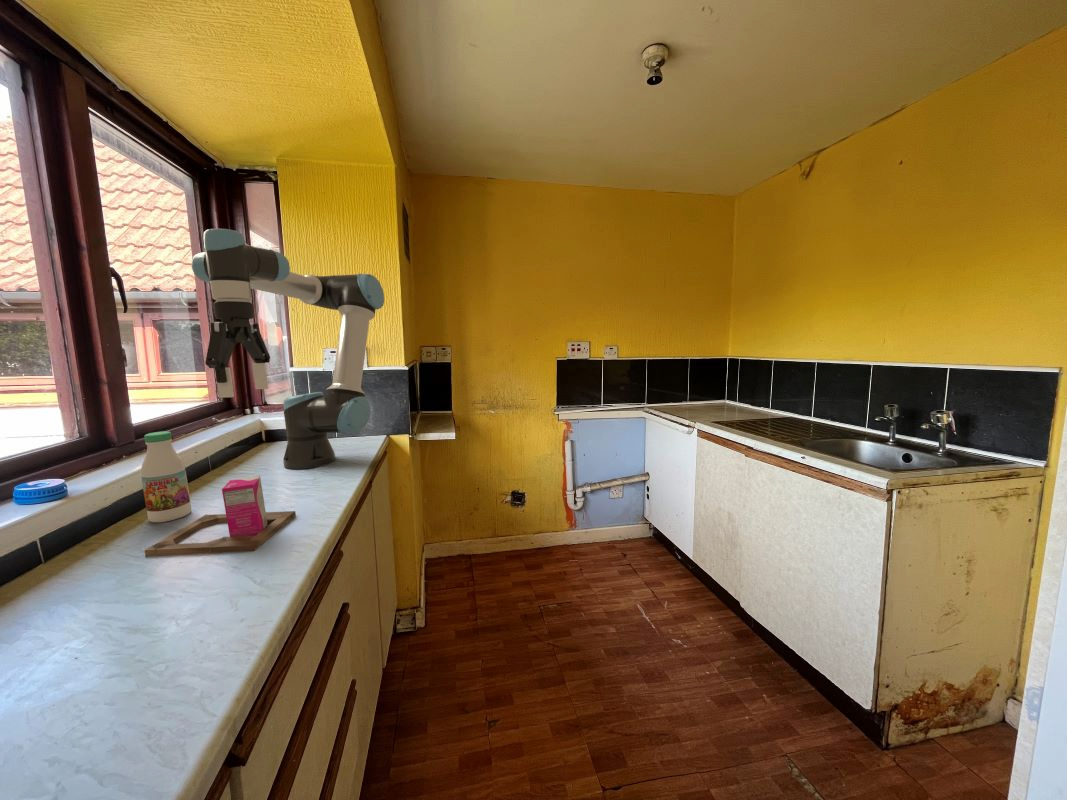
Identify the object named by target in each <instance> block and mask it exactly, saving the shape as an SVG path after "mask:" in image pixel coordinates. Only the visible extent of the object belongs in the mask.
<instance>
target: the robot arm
mask: <svg viewBox="0 0 1067 800" xmlns="http://www.w3.org/2000/svg"><path fill="white" fill-rule="evenodd" d="M203 246H204V247H203V251H204V252H199V253H196V254H195V255H194V256H193V257H192V259H191V270H192V272H193V273H194V275H195V276H196V277H197V279H199V280H200V281H201V282H205V283H209V284H210V291H211V298H212V300H214V302H213V303H212V307H213V313H214V317H215V318H216V319H217V320H220V321H213V322H212V321H211V322H210V337H209V342H208V346H207V352H206V357H205V366H207V367H208V368H209V369H214V373H215V380H216V383H217V391H218V395H219V396H218V398H234V397H235V393H234V386H233V378H232V370H231V367H228V365H229V362H230V360H231V357H232V354H233V351H234V350H235V346H236V345H238V344H242V346H243V347H244V349H245V350H246V352H247V353H248V355H249V357H251V359H252V361H253V362H254V363H253V362H252V363H251V366H252V371H253V372H252V373H253V379H254V380H253V381H254V387H255V390H268V389H269V383H268V376H267V375H268V374H267V368H266V364H267V363H270V361H271V355H270V353H269V351H268V348H267V346H266V344H265V341H264V339H263V335H262V333H261V331H260V327H259V326H260V325H259V323H257V322H252V323H251V322H250V320H251V319H254V318H255V310H254V304H253V303H252V302H250V301H252V300H253V295H252V290H257V291H260V292H261V291H262V292H265V293H270V294H275V295H279V296H284V297H287V298H288V297H289V298H294V299H298V300H300V302H302V303H304V304H306V305H311V306H315V307H319V308H323V309H328V310H334V311H338V312H339V314H340V316H341V318H340V319H341V320H340V327H339V334H338V340H337V341H338V343H337V349H336V356H335V363H334V367H333V368H334V369H333V378H332V383H331V385H330V386H328V387H327V388H325V393H323V392H322V391H315V392H309V393H304V394H297V395H293V396H292V395H291V396H287V397H286V398H285V399H284V400H283V410H282V411H283V417H284V424H285V430H286V431H285V433H286V440H287V443H286V444H287V445H286V447H285V452H284V456H283V461H282V462H283V467H284V468H285V469H290V470H304V469H311V468H317V467H322V466H326V465H329V464H331V463H333V462H335V461H336V454H335V451H334V449H333V446H332V444H331V442H330V441H329V439H328V434H329V433H332V434H333V433H335V434H336V433H337V434H356V433H359V432H361V431H362V430H364V428H365V427H366V426H367V424H368V422H369V421H370V417H371V411H372V409H371V406H370V405H371V404H370V401H369V400H368V399H367V398H366V397H365V395H366V393H365V391H363V389H362V381H363V372H364V367H365V366H364V365H365V359H366V358H365V357H366V350H367V349H366V348H367V342H368V334H369V326H370V321H371V320H373V319H374V318H375V317H376V310H380V309H381V308H383V306H384V303H385V294H384V288H383V287H382V285H381V282H380V280H378V278H377V276H375V275H373V274H370V273H357V274H356V273H355V274H339V275H338V274H337V275H334V274H333V275H325V276H324V275H321V276H319V275H314V274H305V275H303V274H299V273H296V272H292V271H291V266H290V262H289V259H288V258H287V257H286V255H284V253H282V252H278V251H276V250H273V249H267V248H262V247H257V246H254V245H249V244H247V242H246V241H245V236H244V234H243V233H241V232H240V231H237V230H233V229H228V228H209V229H206V230H205V231H204V232H203Z"/></svg>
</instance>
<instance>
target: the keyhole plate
mask: <svg viewBox="0 0 1067 800" xmlns="http://www.w3.org/2000/svg"><path fill="white" fill-rule="evenodd" d="M296 516H297V514H296V510H292V511H289V510H288V511H266V517H267V523H268V526H267V527H266V528H264V529H263V530H262V531H261V532H259V533H258V534H257V535H253V536H231V537H230V536H224V537H219V538H217V539H213V540H210V541H207V542H190V543H187V542H186V543H179V542H181V541H183V540H184V539H186V538H187V537H189V536H191V535H193V534H194V533H196V532H197V531H199V530H200V529H202V528H205V527H208V526H212V525H216V524H218V523H219V524H222V523H225V524H226V523H227V517H226V513H222V514H221V513H219V514H218V513H216V514H215V513H214V514H205V515H202V516H200V517H199V518H197V519H196V520H194V521H192V522H191V523H189V524H187V525H185V526H184V527H182V528H180V529H179V530H176V531H175V532H173V533H172V534H170V535H168V536H166V537H164V538H163V539H161V540H160V541H158V542H156V543H154V544H152V545H151V546H149V547H147V548H146V549H144V555H145V557H149V556H150V557H153V556H154V557H157V556H174V555H175V556H176V555H177V556H178V555H192V554H193V555H198V554H215V553H216V554H218V553H236V552H239V553H240V552H254V551H256V550H257V549H258V548H260V546H262V545H263V544H264V543H265V542H267V541H268V540H269V539H270V538H271V537H272V536H274V535H275V534H276V533H277V532H279V531H280V530H281V529H282V528H284V526H286V525H287V524H288V523H289V522H290V521H291V520H293V519H294V518H296ZM227 524H228V523H227Z"/></svg>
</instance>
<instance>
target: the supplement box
mask: <svg viewBox="0 0 1067 800" xmlns="http://www.w3.org/2000/svg"><path fill="white" fill-rule="evenodd" d="M221 493H222V498H223V504H224V510H225V514H226V517H227V528H228V535H229V537H231V536H253V535H257V534H258V533H259V532H261V531H262V530H263V529H264V528H266V527H267V526H268V523H267V517H266V512H267V511H266V506H265V497H264V492H263V486H262V480H261V476H260V475H259V476H251V477H250V476H249V477H243V478H236V479H231V480H230V479H229V481H228V482H227V483H226V484H225V486H223V487H222V489H221Z"/></svg>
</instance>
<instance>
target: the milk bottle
mask: <svg viewBox="0 0 1067 800" xmlns="http://www.w3.org/2000/svg"><path fill="white" fill-rule="evenodd" d="M143 438H144V442H145V445H146V453H145V456H144V459H143V461H142V464H141V468H140V470H141V471H140V475H141V485H142V491H143V496H144V497H143V498H144V502H145V509H146V514H147V519H148V521H149V522H150V523H165V522H169V521H170V522H171V521H174V520H178V519H181V518H183V517H186V516H187V515H190V514H191V512H192V504H191V496H190V490H189V484H188V478H187V477H188V476H187V472H186V467H185V463H184V461H183V459H182V457H181V456H180V455H179V454H178V452H177V451H176V450H175V448H174V447H173V444H172V442H173V439H172V438H173V437H172V432H171V431H155V432H149V433H146V434H144V436H143Z"/></svg>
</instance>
